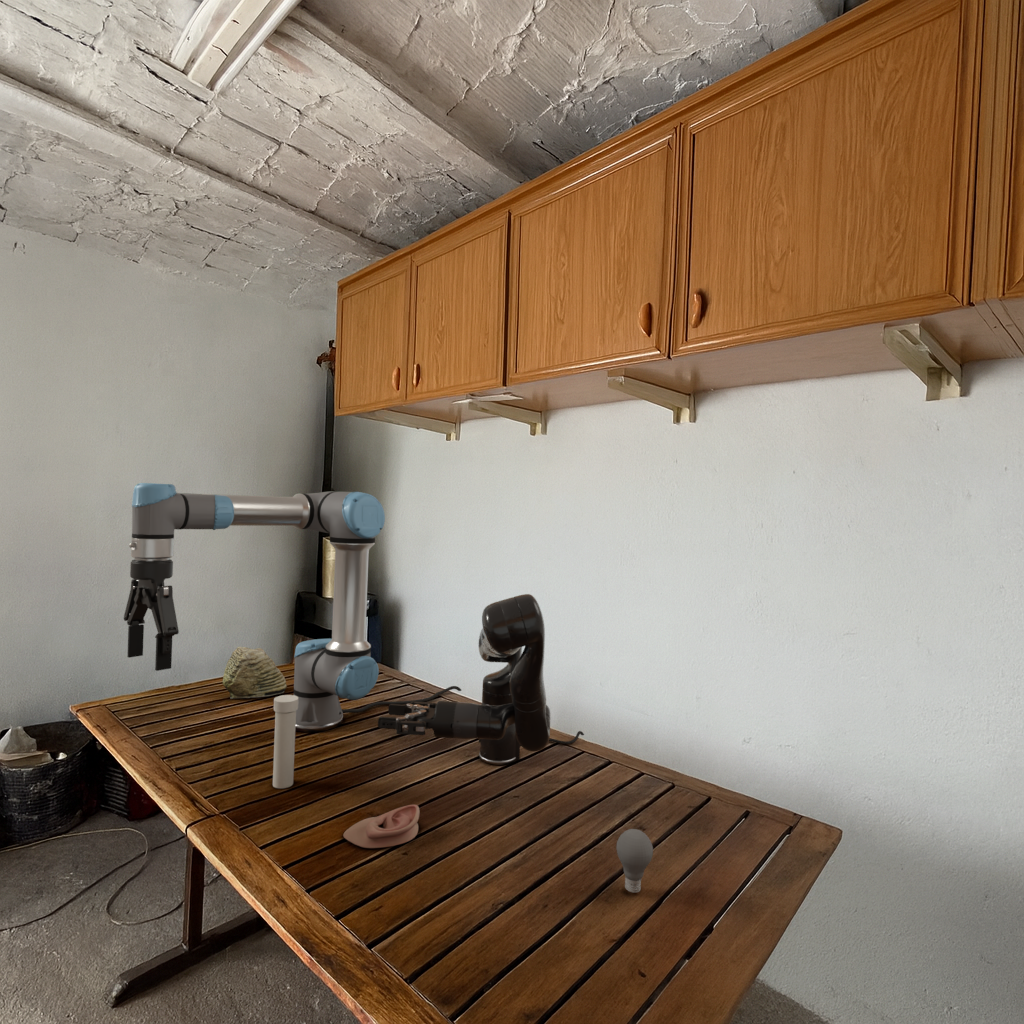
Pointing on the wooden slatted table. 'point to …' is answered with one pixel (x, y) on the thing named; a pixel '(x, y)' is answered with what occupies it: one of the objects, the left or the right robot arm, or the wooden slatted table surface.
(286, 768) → the off-white cylindrical rod
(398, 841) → the anatomical model
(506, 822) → the wooden slatted table surface
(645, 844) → the light bulb
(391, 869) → the wooden slatted table surface
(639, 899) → the wooden slatted table surface
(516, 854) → the wooden slatted table surface
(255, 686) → the fossil
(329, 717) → the left robot arm
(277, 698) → the lid
